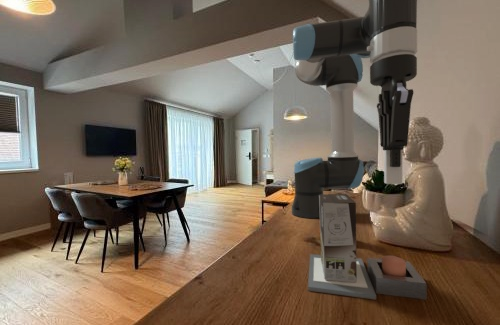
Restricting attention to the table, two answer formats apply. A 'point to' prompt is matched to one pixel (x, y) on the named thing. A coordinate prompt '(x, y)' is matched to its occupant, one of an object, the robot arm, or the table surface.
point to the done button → (393, 266)
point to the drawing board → (357, 289)
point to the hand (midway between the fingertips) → (393, 183)
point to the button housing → (397, 281)
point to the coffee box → (338, 237)
